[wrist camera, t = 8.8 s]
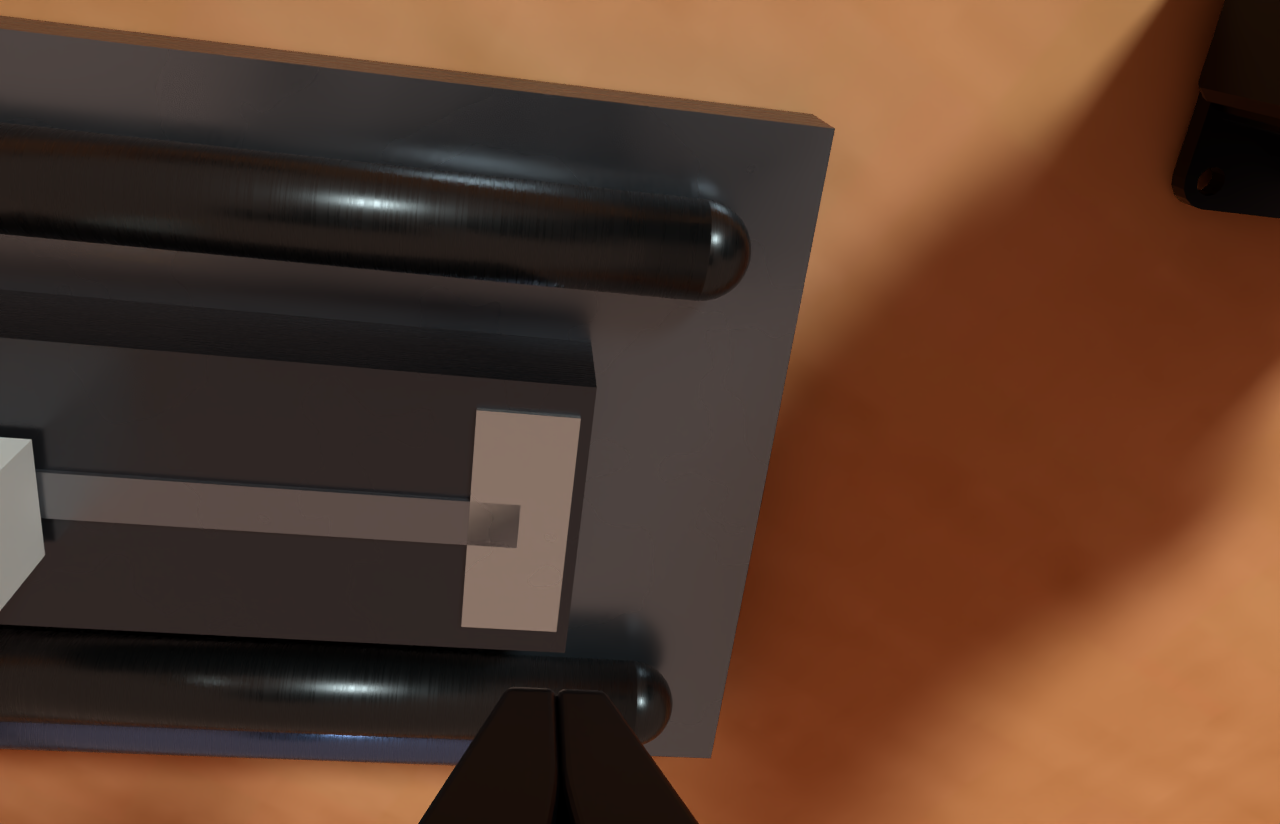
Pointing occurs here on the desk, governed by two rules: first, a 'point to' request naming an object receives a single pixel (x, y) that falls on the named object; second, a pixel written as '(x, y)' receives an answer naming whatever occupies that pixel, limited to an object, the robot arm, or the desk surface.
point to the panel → (647, 342)
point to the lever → (18, 516)
